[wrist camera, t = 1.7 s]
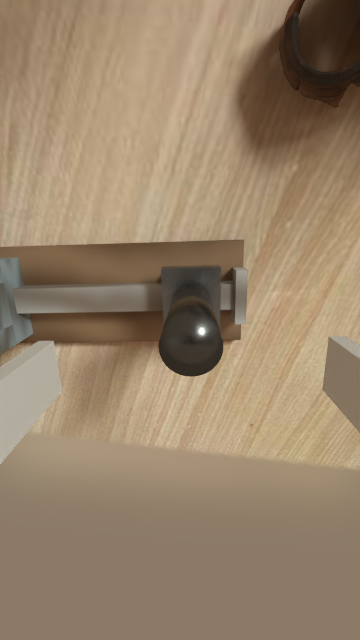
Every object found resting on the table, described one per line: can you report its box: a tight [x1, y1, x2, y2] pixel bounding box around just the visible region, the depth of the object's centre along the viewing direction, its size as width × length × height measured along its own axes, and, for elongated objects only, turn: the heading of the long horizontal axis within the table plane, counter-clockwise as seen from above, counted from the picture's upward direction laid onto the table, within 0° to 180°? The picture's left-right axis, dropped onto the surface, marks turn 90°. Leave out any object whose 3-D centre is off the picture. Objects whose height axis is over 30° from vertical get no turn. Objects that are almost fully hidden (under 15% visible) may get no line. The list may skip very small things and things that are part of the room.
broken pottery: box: [279, 0, 360, 108], centre depth 20 cm, size 12×10×8 cm
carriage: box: [159, 265, 223, 376], centre depth 21 cm, size 6×5×14 cm
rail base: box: [0, 240, 248, 354], centre depth 26 cm, size 10×26×7 cm, turn 92°
